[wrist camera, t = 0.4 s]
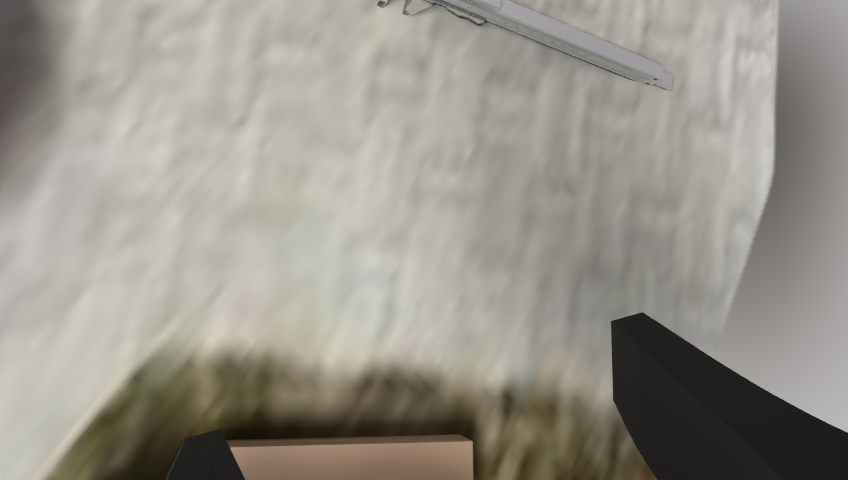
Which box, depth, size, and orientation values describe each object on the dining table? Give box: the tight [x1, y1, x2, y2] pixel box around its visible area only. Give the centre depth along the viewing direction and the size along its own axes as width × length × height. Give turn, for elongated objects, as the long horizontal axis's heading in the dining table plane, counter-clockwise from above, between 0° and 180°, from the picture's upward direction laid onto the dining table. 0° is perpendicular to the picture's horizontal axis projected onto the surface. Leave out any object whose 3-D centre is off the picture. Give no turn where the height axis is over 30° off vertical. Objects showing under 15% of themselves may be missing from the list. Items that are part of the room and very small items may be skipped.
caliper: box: [376, 0, 674, 91], centre depth 42 cm, size 21×1×6 cm, turn 78°
